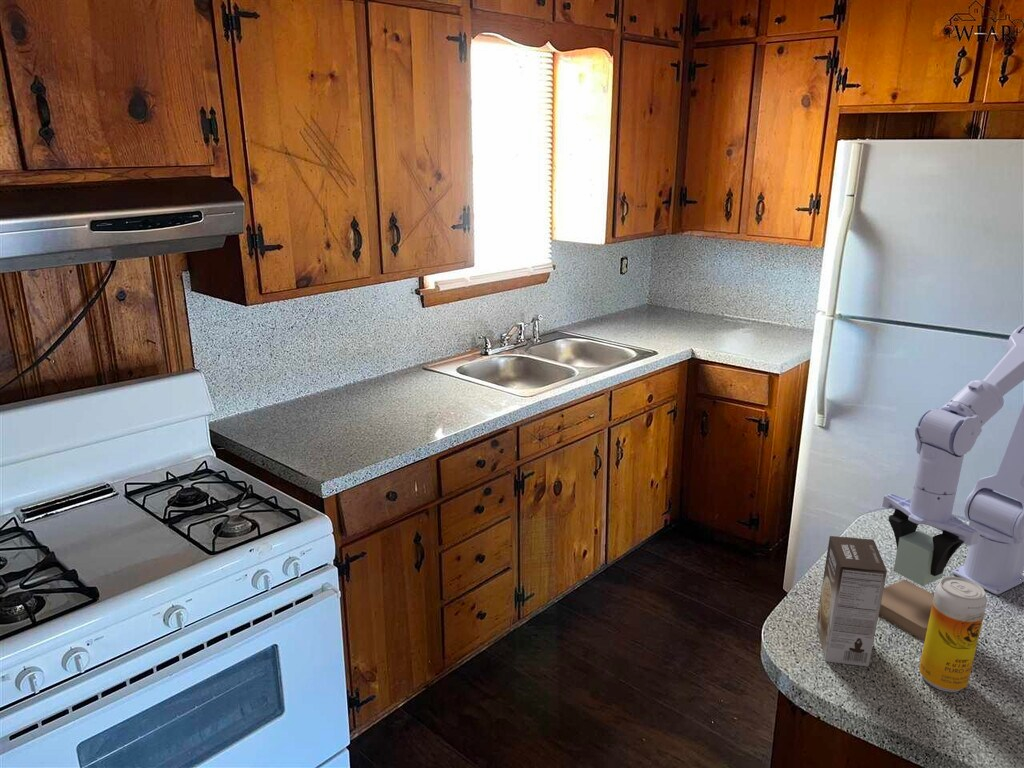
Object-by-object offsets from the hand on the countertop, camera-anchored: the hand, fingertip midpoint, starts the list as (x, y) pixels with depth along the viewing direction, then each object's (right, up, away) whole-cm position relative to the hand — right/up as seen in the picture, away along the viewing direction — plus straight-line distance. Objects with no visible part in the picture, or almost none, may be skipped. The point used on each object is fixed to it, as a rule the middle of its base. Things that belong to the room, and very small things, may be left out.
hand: (919, 565), depth 121 cm
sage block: (0, -2, +1) cm, 2 cm away
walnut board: (0, -9, +2) cm, 9 cm away
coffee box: (-15, -11, -6) cm, 19 cm away
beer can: (-4, -13, -13) cm, 19 cm away
